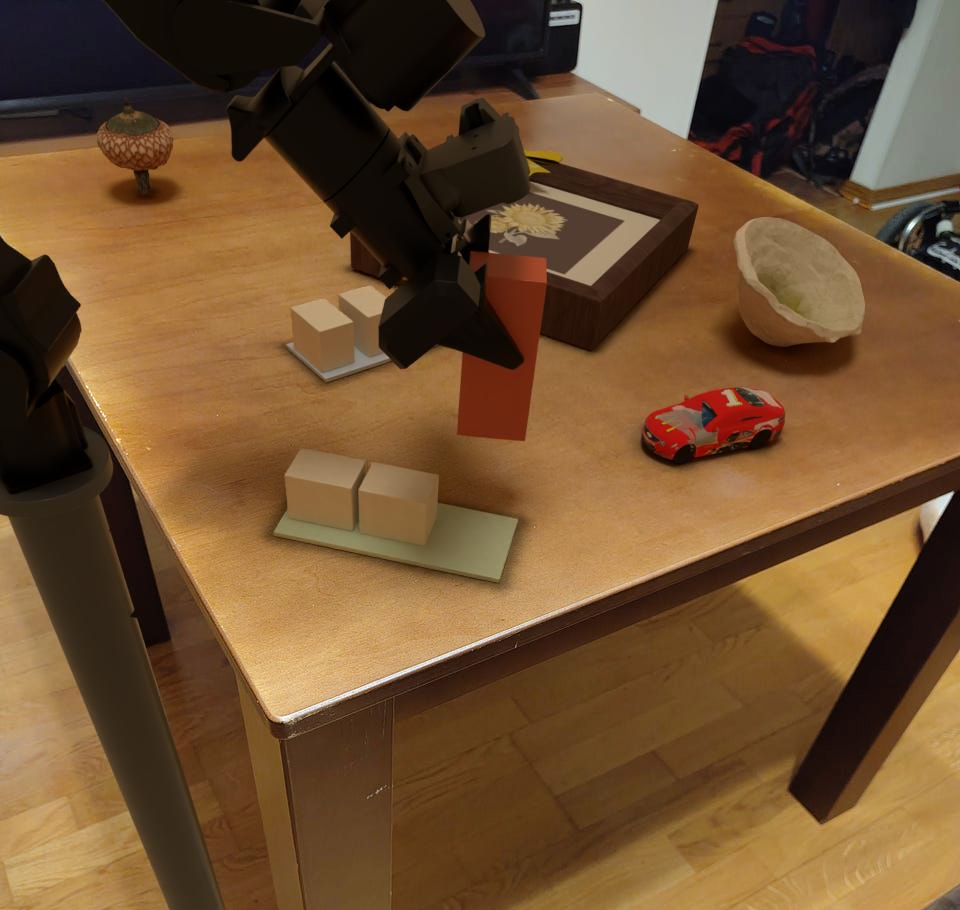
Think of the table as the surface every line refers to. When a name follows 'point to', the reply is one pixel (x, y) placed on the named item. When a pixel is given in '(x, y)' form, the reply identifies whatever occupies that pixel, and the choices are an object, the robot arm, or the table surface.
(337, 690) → the table surface
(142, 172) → the acorn
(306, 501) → the pale green base plate
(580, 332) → the picture frame
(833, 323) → the bowl
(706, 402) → the race car
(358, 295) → the blocks on base plate
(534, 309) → the orange upright bar
